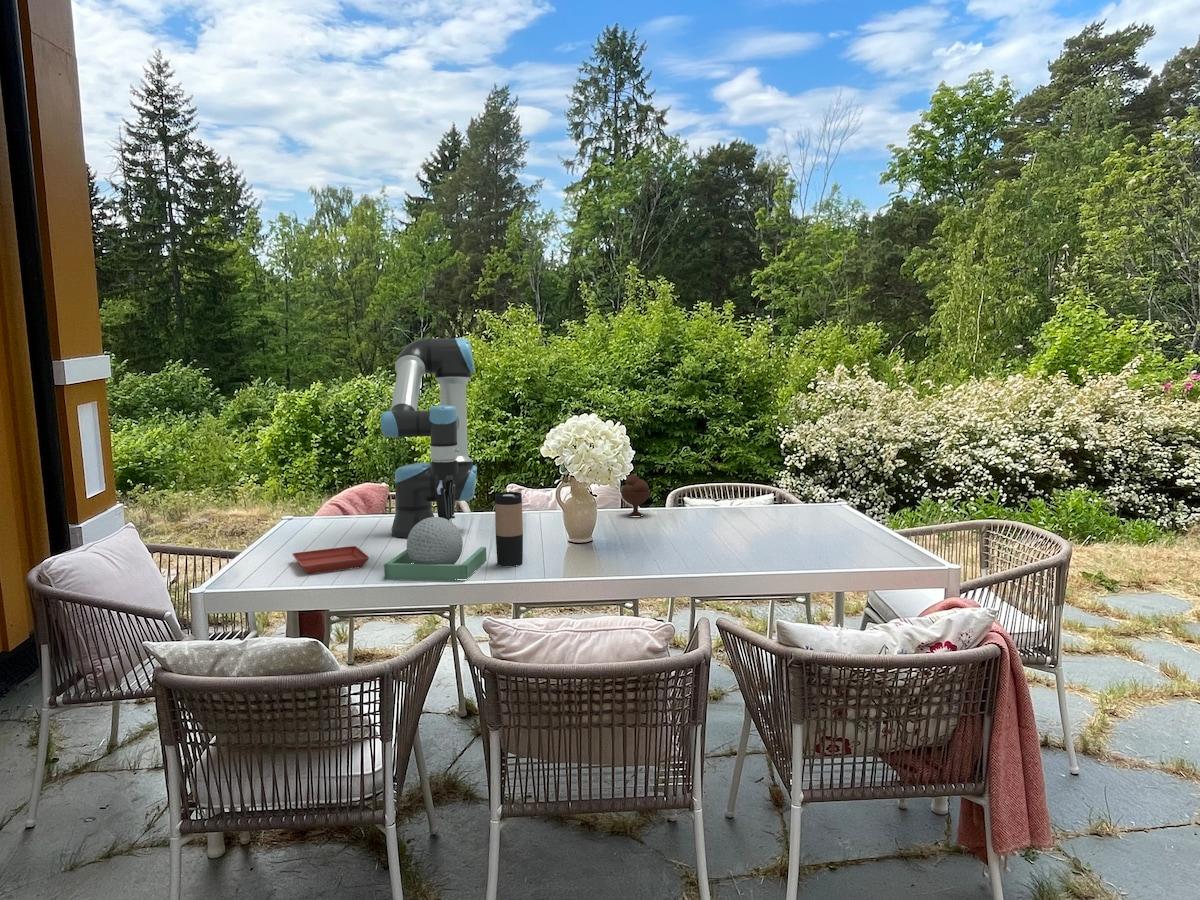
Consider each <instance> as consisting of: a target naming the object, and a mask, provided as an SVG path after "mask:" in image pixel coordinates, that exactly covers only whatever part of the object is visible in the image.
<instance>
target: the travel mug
mask: <svg viewBox="0 0 1200 900" xmlns="http://www.w3.org/2000/svg"><path fill="white" fill-rule="evenodd" d="M522 495H523V494H522V493H521V492H518V491H503V492H502V491H501V492H497V493H495V494H494V508H495V509H494V511H495V512H494V513H495V516H494V517H495V525H494V526H495V546H496V547H495V548H496V549H495V550H496V563H497V565H498V564H499V565H501V566H500V567H502V566H514V567H517V566H516V565H519V566H521V565H523V563H524V562H523V561H524V560H523V559H524V558H523V556H524V552H523V551H524V523H523V496H522ZM499 565H498V566H499Z"/></svg>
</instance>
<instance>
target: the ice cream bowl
mask: <svg viewBox="0 0 1200 900" xmlns="http://www.w3.org/2000/svg"><path fill="white" fill-rule="evenodd" d="M624 483H625V485H624V486H623V487H622V489H621V490H620V495H621V498H622V499H623V500H624V501H625V502H626V503H627V504H630V505H631V506H632V508H633V509H632V512H630V513H629V514H628V515H629V516H641V515H642V512H639V506H640V505H642V504H643V503H645V502H646V501H647V500H648V499H649V497H650V494H651V489H650V488H649V487H650V486H649V485H648V483H647V482H646V481H645V480H644V479H641V478H640V477H639V476H638V475H636V474H632V475H629V476H627V478H626V479H625V481H624ZM629 516H628V517H629Z"/></svg>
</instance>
